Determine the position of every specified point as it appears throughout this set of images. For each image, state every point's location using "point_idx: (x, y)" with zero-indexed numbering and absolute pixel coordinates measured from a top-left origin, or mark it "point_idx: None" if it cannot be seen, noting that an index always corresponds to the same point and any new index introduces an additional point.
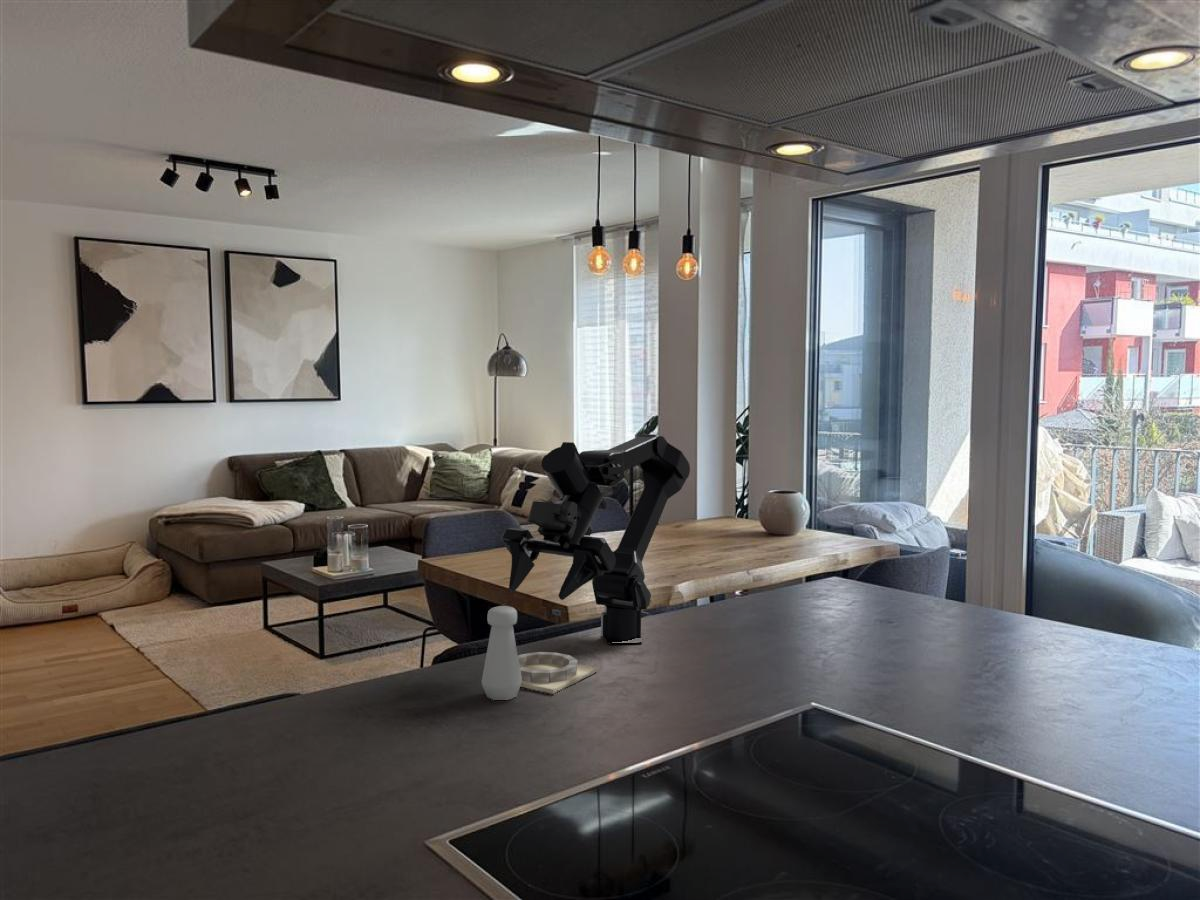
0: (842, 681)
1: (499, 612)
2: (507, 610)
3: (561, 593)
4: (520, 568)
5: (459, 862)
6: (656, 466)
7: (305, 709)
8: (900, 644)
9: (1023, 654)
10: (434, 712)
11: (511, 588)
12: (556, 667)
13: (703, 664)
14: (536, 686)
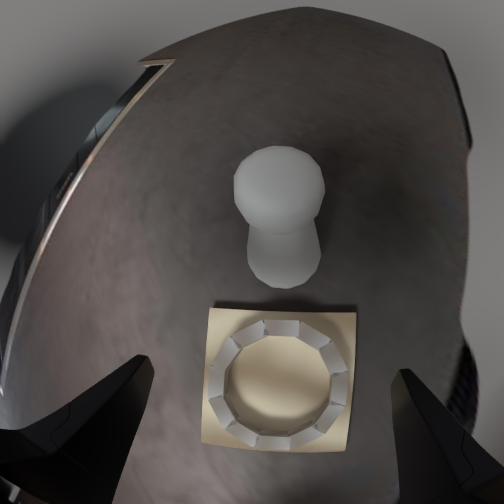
0: None
1: (263, 149)
2: (247, 163)
3: (131, 359)
4: (428, 468)
5: (151, 62)
6: None
7: (430, 124)
8: None
9: None
10: (323, 167)
11: (398, 373)
12: (268, 417)
13: None
14: (245, 310)
